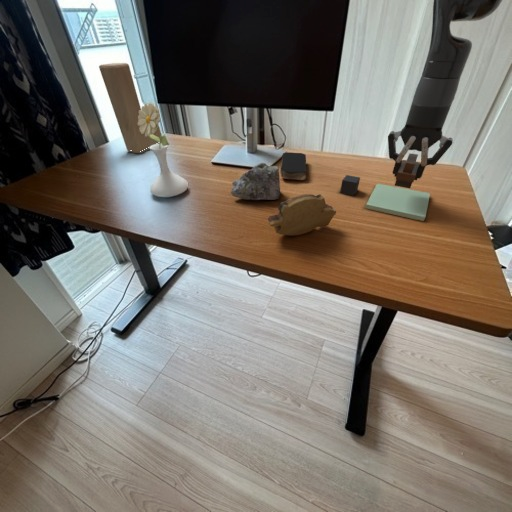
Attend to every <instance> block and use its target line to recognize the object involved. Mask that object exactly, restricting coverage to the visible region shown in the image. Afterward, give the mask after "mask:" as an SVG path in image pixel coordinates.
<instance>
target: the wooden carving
mask: <svg viewBox="0 0 512 512" xmlns="http://www.w3.org/2000/svg"><path fill="white" fill-rule="evenodd" d="M335 215H337V210H336V209H335V208H333V206H332V205H329V204H327V203H326V199H325V197H324V195H322V194H321V193H319V194H317V195H315V194H311V193H305V194H301V195H297V196H293V197H291V198H288V199H287V200H285V201H281V202H280V204H279V205H278V214H273V215H270V216H268V217H267V221H268V222H269V223H268V225H269V226H270V227H273V228H274V230H275V233H276V234H279V235H282V236H291V237H292V236H294V237H295V236H300V235H304V234H307V233H310V232H312V231H313V230H315V229H317V228H325V227H327V226H329V225H330V223H331V221H332V220H333V218H334V216H335Z"/></svg>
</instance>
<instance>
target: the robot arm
mask: <svg viewBox="0 0 512 512" xmlns="http://www.w3.org/2000/svg"><path fill="white" fill-rule="evenodd" d="M502 2H503V0H433V4H432V20H431V21H432V23H431V34H430V43H429V49H428V53H427V56H426V60H425V63H424V67H423V70H422V73H421V77H420V78H419V82H418V84H417V86H416V88H415V91H414V94H413V99H412V102H411V105H410V108H409V111H408V115H407V118H406V121H405V125H404V126H403V128H401V130H399V131H393V130H392V131H390V132H389V134H387V146H388V158H389V159H390V160H394V166H393V169H392V175H393V177H395V178H396V176H397V173H398V171H399V168H400V166H401V164H402V161H403V160H404V157H405V156H406V154H407V153H408V151H417V152H421V153H420V164H419V167H418V170H417V173H416V177H415V179H414V181H418V179H421V178H422V177H423V174H424V171H425V168H426V167H428V166H435V165H436V164H437V163H438V162H439V161H440V159H441V158H442V157H443V156H444V155H445V154H446V152H447V151H448V150H449V149H450V147H452V145H453V143H454V140H453V137H447V136H445V135H443V128H444V125H445V122H446V120H447V117H448V114H449V112H450V110H451V107H452V104H453V102H454V100H455V97H456V94H457V91H458V88H459V83H460V80H461V78H462V75H463V72H464V69H465V67H466V64H467V62H468V60H469V57H470V54H471V52H472V49H473V42H472V41H471V40H470V39H469V38H468V39H467V38H465V37H460V36H459V37H458V36H455V35H453V34H452V31H451V23H456V22H476V21H481V20H484V19H486V18H487V17H489V16H490V15H492V14H493V13H494V12H495V11H496V10H497V9H498V8H499V7H500V5H501V3H502ZM399 138H401V140H402V142H403V143H402V144H403V145H404V146H403V147H402V148H401V150H400V152H399V153H398V152H397V144H396V142H398V141H399ZM437 142H439V144H438V147H439V148H438V150H437V151H436V152H435V153H434V154H433V156H432V157H429V149H430V148H431V147H432V146H434V145H435V144H436V143H437Z"/></svg>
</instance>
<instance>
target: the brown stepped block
mask: <svg viewBox="0 0 512 512" xmlns="http://www.w3.org/2000/svg"><path fill="white" fill-rule="evenodd" d="M418 157H419V154H417V153H410V152H409V153H408V156H407V159H402V160H403V161H402V164H401V166H400V168H399V171H398V173H397V176H396V177H395V182H394V187H399V188H405V189H411V187H412V185H413V183H414V182H415V180H414V179H415V177H416V173H417V170H418V167H419V164H420V163H421V161H420V162H419V161H418V160H417V159H418Z"/></svg>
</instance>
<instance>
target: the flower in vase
mask: <svg viewBox="0 0 512 512" xmlns="http://www.w3.org/2000/svg"><path fill="white" fill-rule="evenodd" d="M160 117H161V115H160V109H159V108H158V107H157V106H156V105H155V104H154V103H152V102H151V101H150V102H149V103H147V102H144V104H143V105H142V106H141V110H139V116H138V119H139V120H138V121H139V122H138V126H140V128H139V129H140V132H141V134H144V133H145V137H147V136H150V137H151V138H152V139H154V140H156V141H158V142H160V144H154V145H152V146H150V147H149V148H150V149H149V150H150V151H152V152H153V153H154V155H155V157H156V159H157V161H158V165H159V169H160V171H159V172H160V173H159V175H158V176H157V177H156V178H155V179H154V180H153V181H152V183H151V184H150V188H149V192H150V193H151V194H152V195H153V196H155V197H158V198H172V197H175V196H179V195H181V194H183V193H185V192H186V191H187V189H188V187H189V183H188V181H187V180H186V178H183V177H182V176H180V175H178V174H177V173H174V172H172V171H171V170H170V167H169V165H168V160H167V149H168V148H169V145H170V143H169V141H168V139H167V136H166V135H165V134H164V135H162V132H161V129H160V130H159V129H158V126H159V127H160V125H159V123H160V122H161V118H160ZM157 129H158V131H159V133H160V139H159V138H158V137H157V136H155V135H153V134H154V133H155V132H156V130H157ZM161 142H162V143H161Z"/></svg>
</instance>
